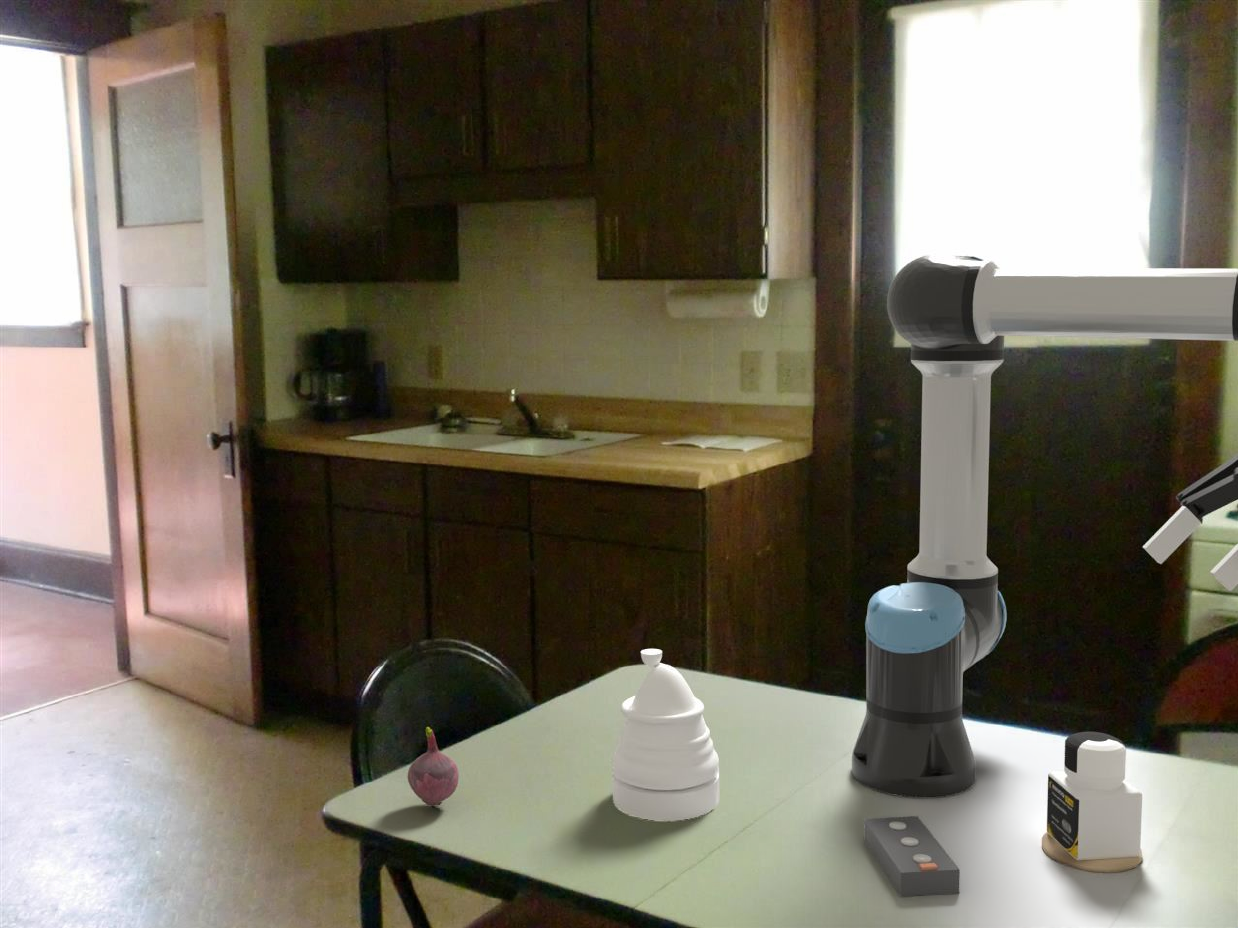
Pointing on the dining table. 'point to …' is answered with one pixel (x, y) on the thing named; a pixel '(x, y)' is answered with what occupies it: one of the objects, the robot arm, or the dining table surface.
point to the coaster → (1098, 865)
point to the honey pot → (664, 750)
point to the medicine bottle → (1094, 800)
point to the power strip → (911, 856)
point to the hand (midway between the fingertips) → (1183, 568)
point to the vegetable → (433, 774)
